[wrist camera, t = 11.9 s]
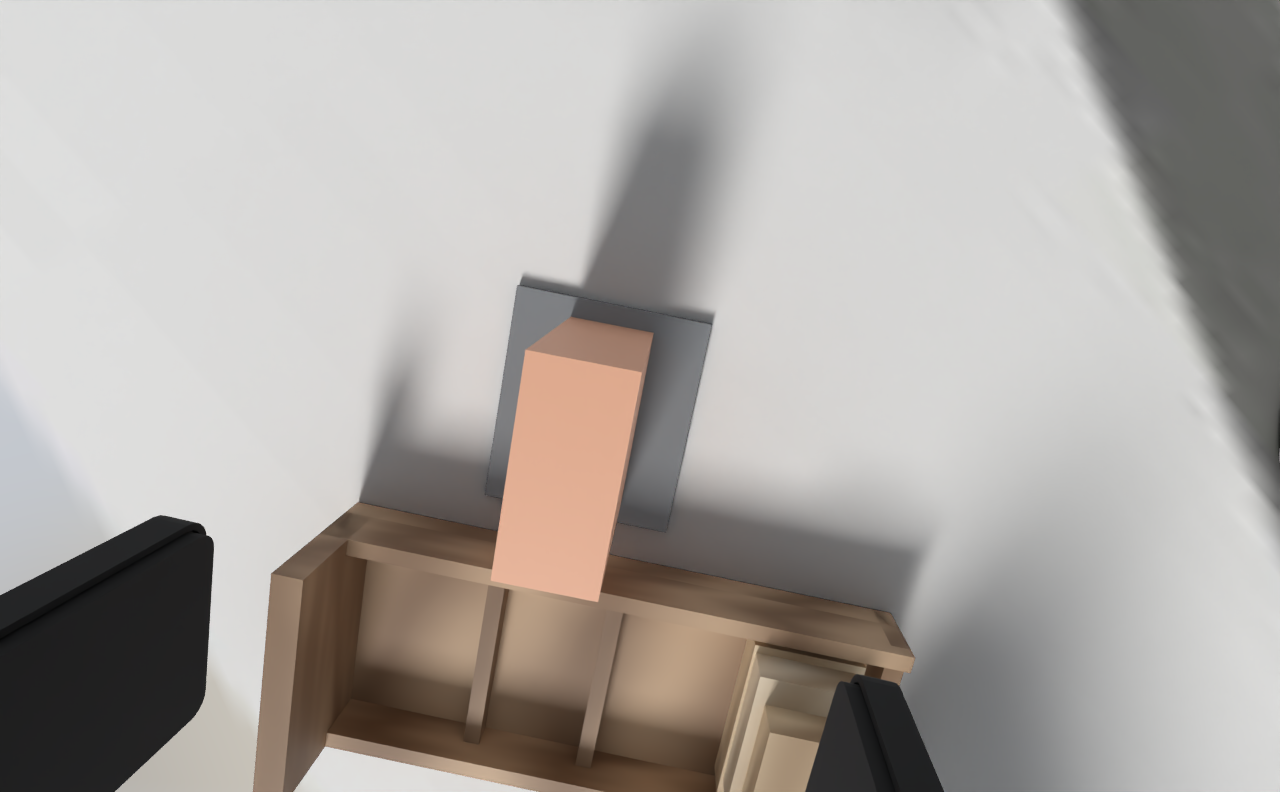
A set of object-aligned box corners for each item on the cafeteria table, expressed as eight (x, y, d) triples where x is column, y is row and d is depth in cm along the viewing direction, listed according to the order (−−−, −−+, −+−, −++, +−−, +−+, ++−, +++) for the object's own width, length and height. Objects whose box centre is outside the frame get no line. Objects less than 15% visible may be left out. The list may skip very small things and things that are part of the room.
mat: (711, 324, 25) (711, 325, 25) (666, 529, 27) (666, 532, 27) (519, 285, 26) (517, 285, 25) (486, 492, 27) (484, 494, 27)
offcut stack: (856, 644, 27) (888, 720, 23) (813, 786, 28) (836, 883, 24) (751, 622, 27) (764, 694, 23) (714, 765, 28) (719, 857, 24)
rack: (890, 612, 27) (946, 715, 22) (834, 796, 29) (871, 935, 24) (357, 502, 28) (271, 573, 22) (336, 690, 30) (252, 802, 24)
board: (653, 332, 25) (641, 372, 18) (621, 502, 27) (598, 602, 20) (570, 316, 25) (525, 349, 18) (542, 486, 27) (490, 580, 20)
